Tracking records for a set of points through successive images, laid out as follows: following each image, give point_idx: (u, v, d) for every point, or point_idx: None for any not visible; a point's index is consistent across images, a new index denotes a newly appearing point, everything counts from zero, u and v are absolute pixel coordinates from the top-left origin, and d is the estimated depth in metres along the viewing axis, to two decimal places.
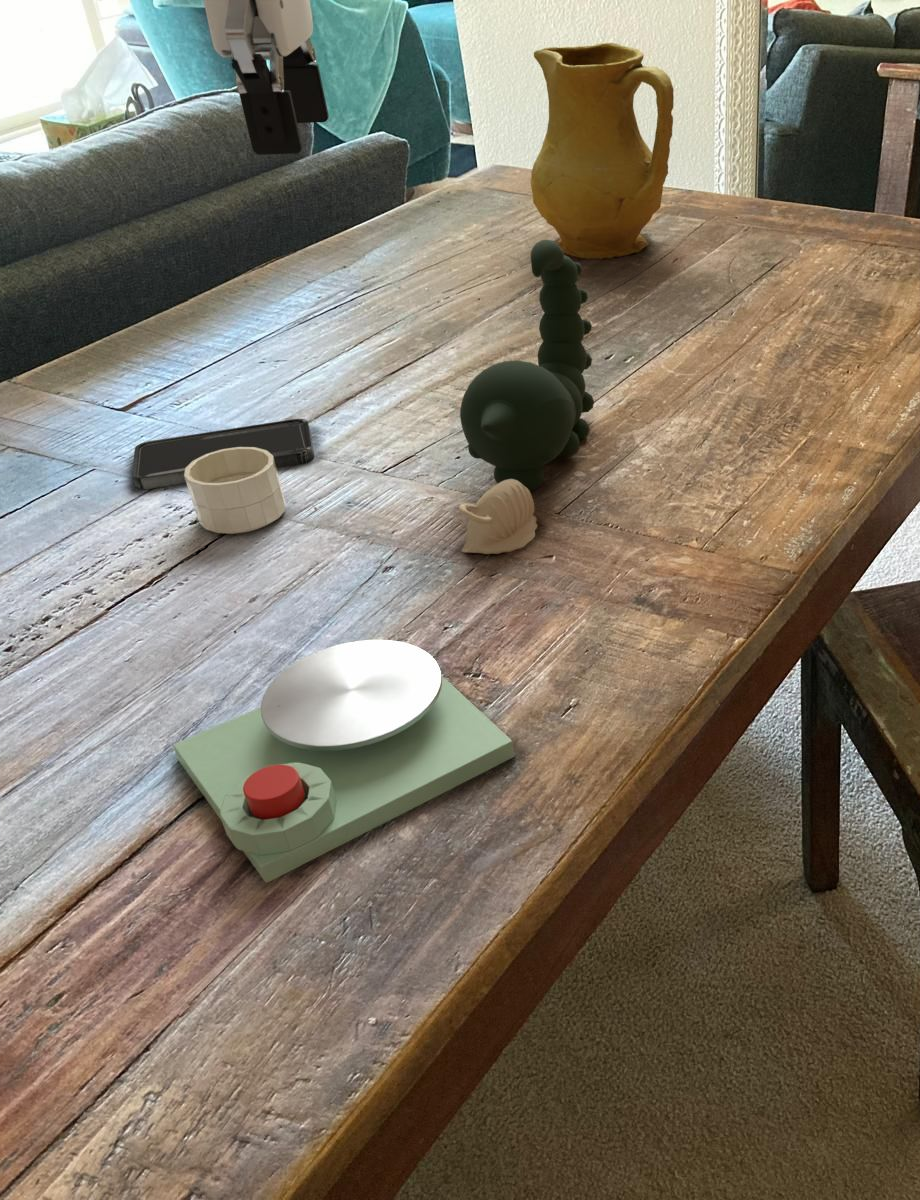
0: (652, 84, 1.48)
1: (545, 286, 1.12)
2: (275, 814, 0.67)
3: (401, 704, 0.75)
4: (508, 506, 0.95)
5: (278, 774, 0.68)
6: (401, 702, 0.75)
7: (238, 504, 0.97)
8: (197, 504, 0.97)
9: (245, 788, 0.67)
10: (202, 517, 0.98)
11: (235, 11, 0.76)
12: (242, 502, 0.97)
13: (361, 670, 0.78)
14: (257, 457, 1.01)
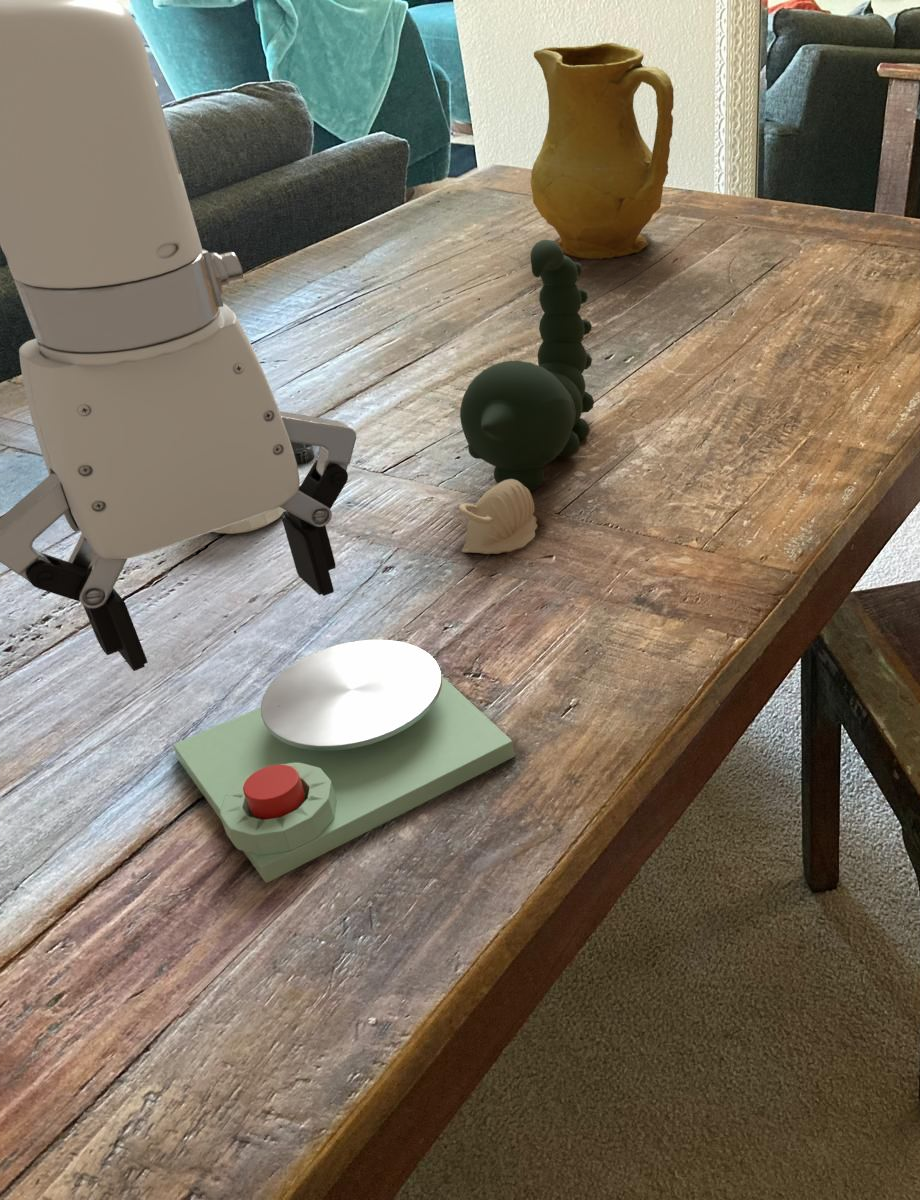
0: (652, 84, 1.48)
1: (545, 286, 1.12)
2: (275, 814, 0.67)
3: (401, 704, 0.75)
4: (508, 506, 0.95)
5: (278, 774, 0.68)
6: (401, 702, 0.75)
7: None
8: None
9: (245, 788, 0.67)
10: None
11: (16, 510, 0.54)
12: None
13: (361, 670, 0.78)
14: None
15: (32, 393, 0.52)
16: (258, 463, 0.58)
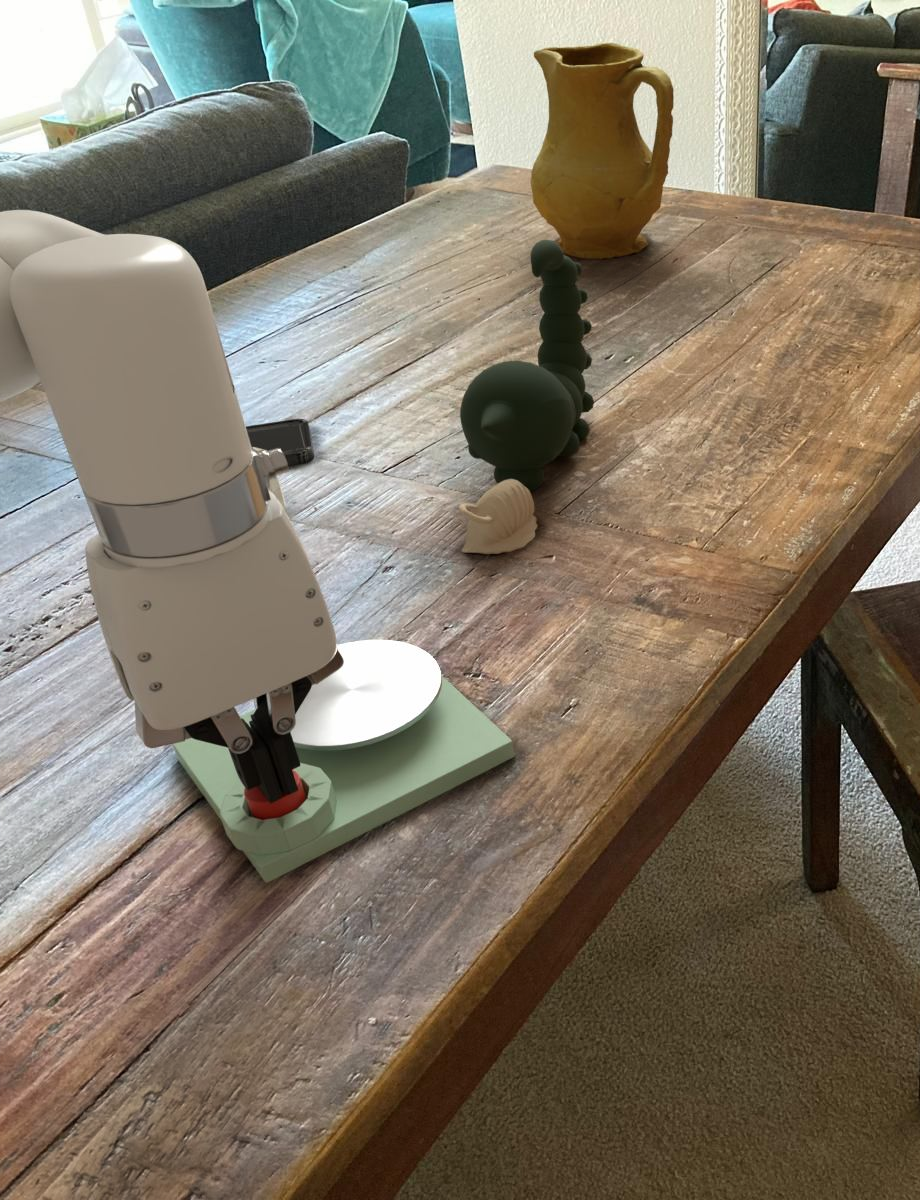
0: (652, 84, 1.48)
1: (545, 286, 1.12)
2: (276, 816, 0.68)
3: (401, 704, 0.75)
4: (508, 506, 0.95)
5: None
6: (401, 702, 0.75)
7: None
8: None
9: (246, 791, 0.68)
10: None
11: (137, 708, 0.61)
12: None
13: (361, 670, 0.78)
14: None
15: (97, 588, 0.57)
16: (300, 635, 0.63)
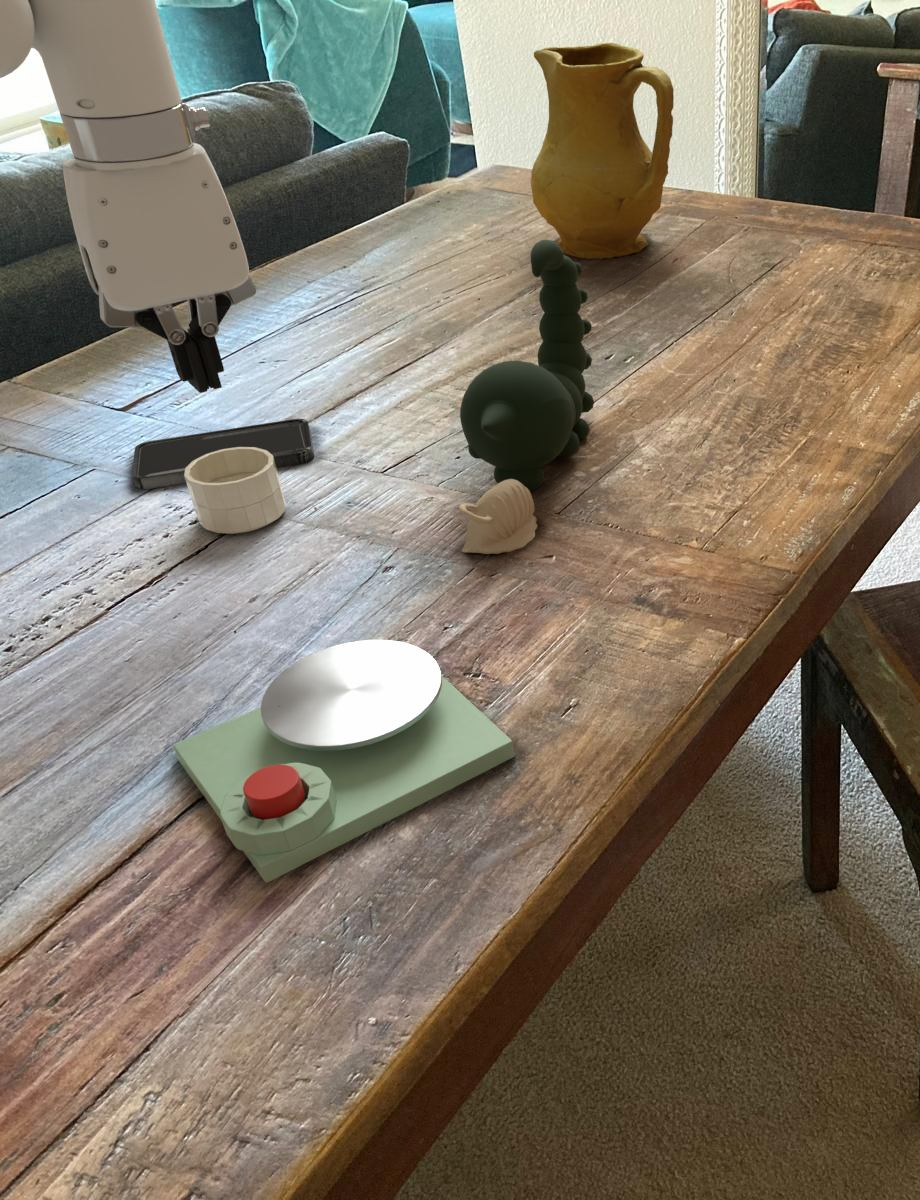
0: (652, 84, 1.48)
1: (545, 286, 1.12)
2: (275, 814, 0.67)
3: (401, 704, 0.75)
4: (508, 506, 0.95)
5: (278, 774, 0.68)
6: (401, 702, 0.75)
7: (238, 504, 0.97)
8: (197, 504, 0.97)
9: (245, 788, 0.67)
10: (202, 517, 0.98)
11: (100, 295, 0.85)
12: (242, 502, 0.97)
13: (361, 670, 0.78)
14: (257, 457, 1.01)
15: (70, 191, 0.81)
16: (219, 253, 0.87)
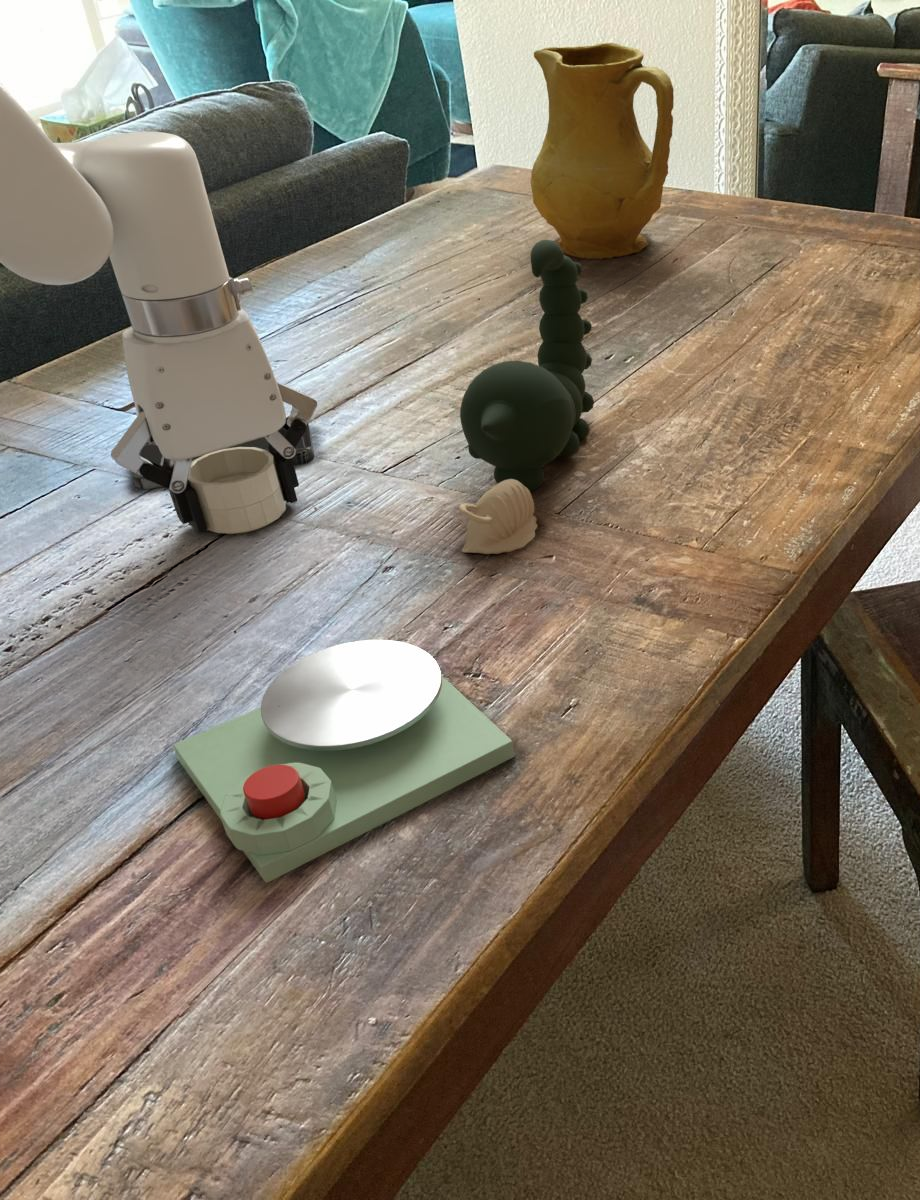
0: (652, 84, 1.48)
1: (545, 286, 1.12)
2: (275, 814, 0.67)
3: (401, 704, 0.75)
4: (508, 506, 0.95)
5: (278, 774, 0.68)
6: (401, 702, 0.75)
7: (238, 504, 0.97)
8: None
9: (245, 788, 0.67)
10: None
11: (126, 436, 0.92)
12: (242, 502, 0.97)
13: (361, 670, 0.78)
14: (257, 457, 1.01)
15: (129, 359, 0.90)
16: (260, 405, 0.96)
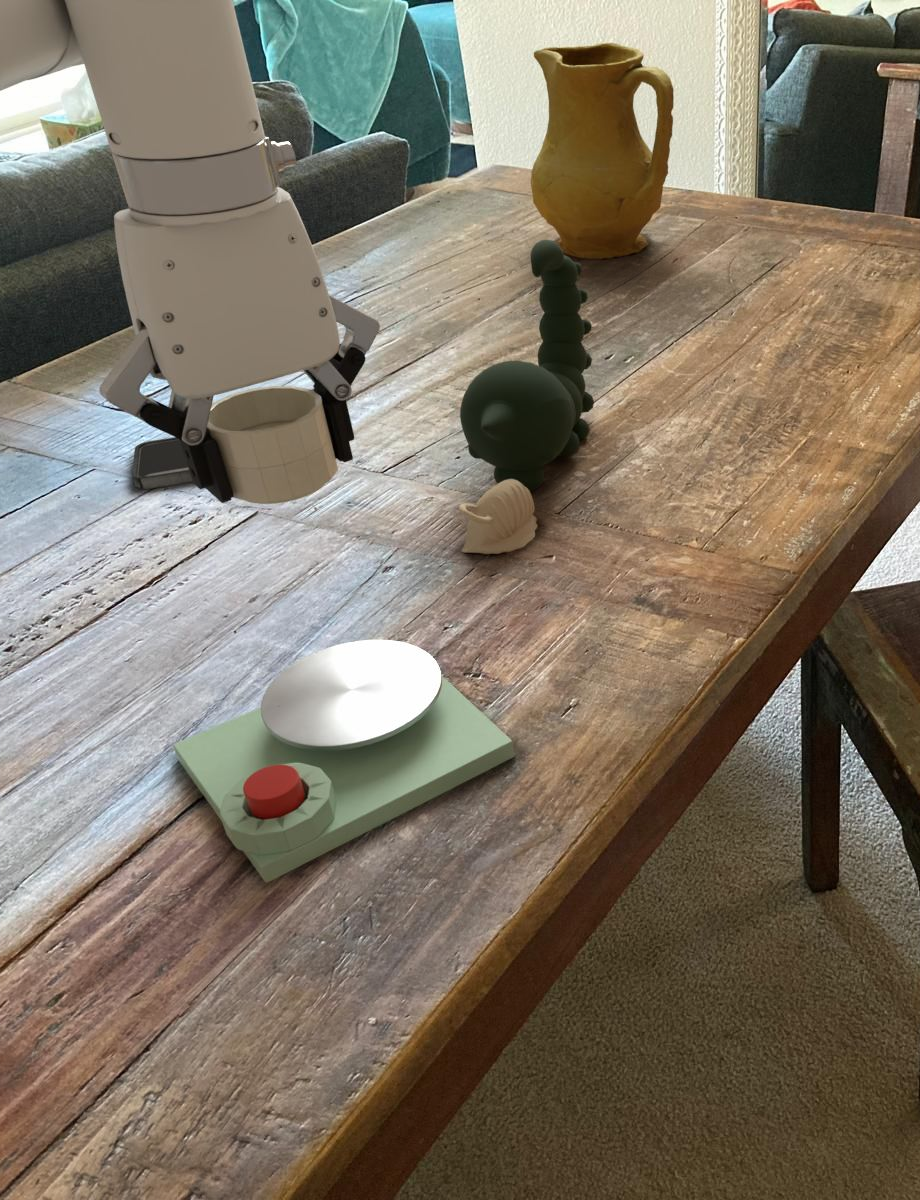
0: (652, 84, 1.48)
1: (545, 286, 1.12)
2: (275, 814, 0.67)
3: (401, 704, 0.75)
4: (508, 506, 0.95)
5: (278, 774, 0.68)
6: (401, 702, 0.75)
7: (276, 461, 0.70)
8: None
9: (245, 788, 0.67)
10: None
11: (120, 363, 0.65)
12: (282, 458, 0.71)
13: (361, 670, 0.78)
14: (298, 399, 0.75)
15: (125, 251, 0.63)
16: (306, 322, 0.69)
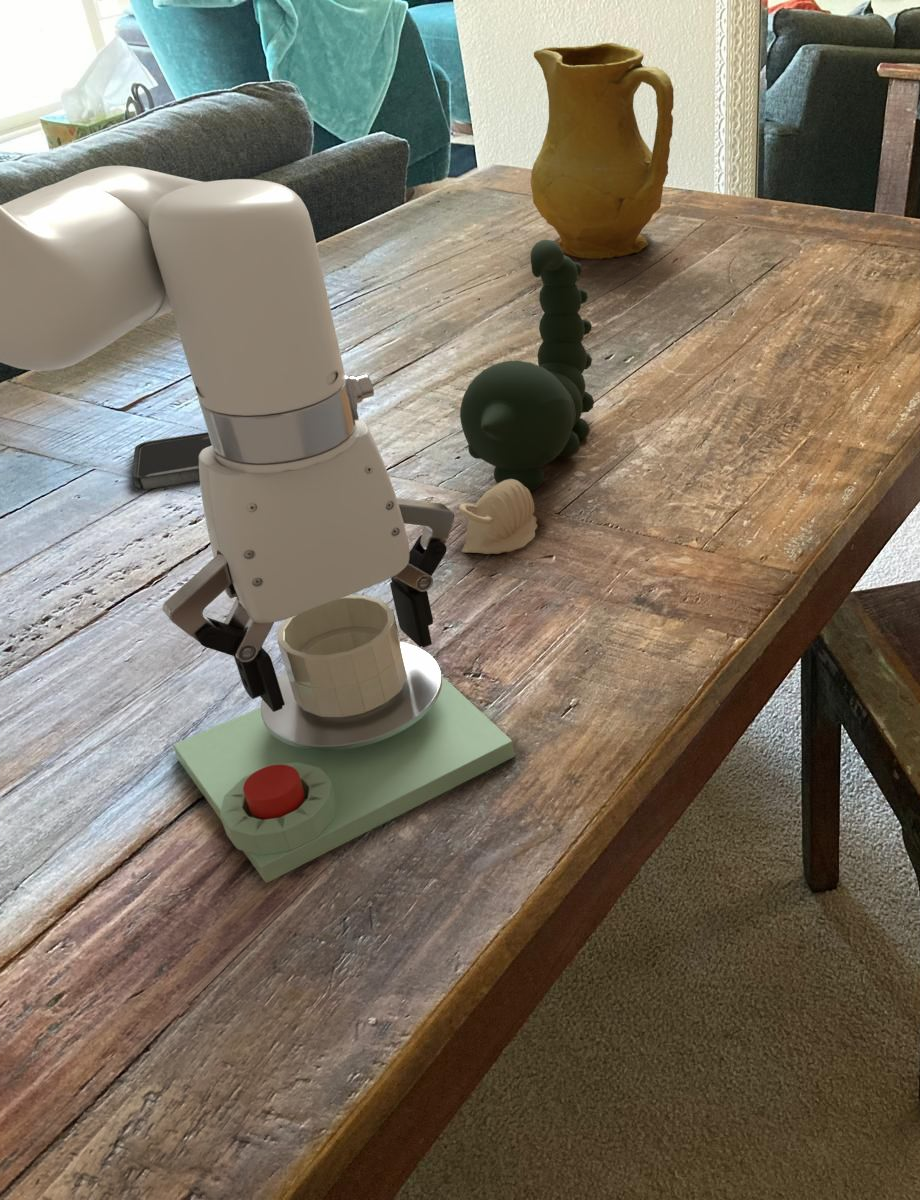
0: (652, 84, 1.48)
1: (545, 286, 1.12)
2: (275, 814, 0.67)
3: (401, 704, 0.75)
4: (508, 506, 0.95)
5: (278, 774, 0.68)
6: (401, 702, 0.75)
7: (350, 681, 0.72)
8: (295, 680, 0.72)
9: (245, 788, 0.67)
10: (301, 696, 0.73)
11: (191, 584, 0.66)
12: (356, 678, 0.72)
13: None
14: (370, 609, 0.76)
15: (209, 493, 0.65)
16: (379, 543, 0.71)
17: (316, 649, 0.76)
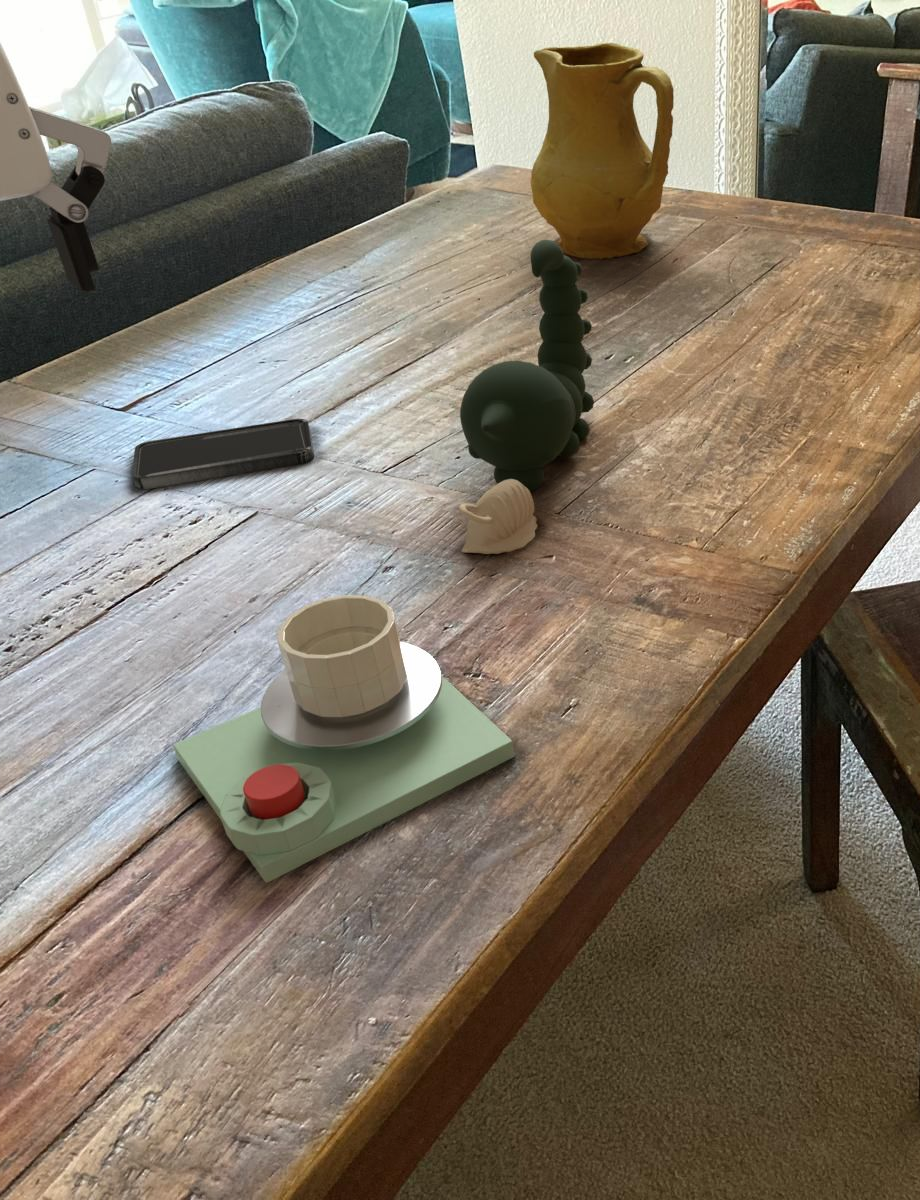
0: (652, 84, 1.48)
1: (545, 286, 1.12)
2: (275, 814, 0.67)
3: (401, 704, 0.75)
4: (508, 506, 0.95)
5: (278, 774, 0.68)
6: (401, 702, 0.75)
7: (350, 681, 0.72)
8: (295, 680, 0.72)
9: (245, 788, 0.67)
10: (301, 696, 0.73)
11: None
12: (356, 678, 0.72)
13: None
14: (370, 609, 0.76)
15: None
16: (4, 143, 0.64)
17: (316, 649, 0.76)
